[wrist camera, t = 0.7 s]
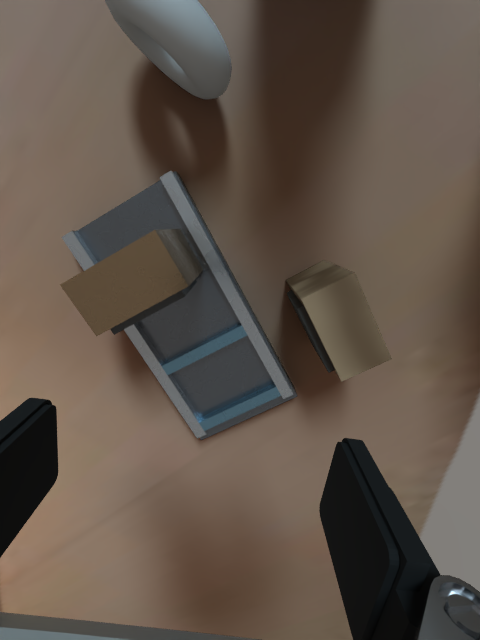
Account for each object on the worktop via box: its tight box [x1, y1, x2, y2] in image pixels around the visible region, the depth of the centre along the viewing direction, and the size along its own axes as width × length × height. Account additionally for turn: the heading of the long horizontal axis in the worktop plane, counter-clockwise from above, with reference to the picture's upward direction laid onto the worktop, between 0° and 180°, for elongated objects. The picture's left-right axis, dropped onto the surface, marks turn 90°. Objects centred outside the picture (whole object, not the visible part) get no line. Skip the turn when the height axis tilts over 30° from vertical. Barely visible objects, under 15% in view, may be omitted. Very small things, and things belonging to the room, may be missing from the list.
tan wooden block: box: [286, 260, 392, 381], centre depth 29 cm, size 5×8×9 cm, turn 28°
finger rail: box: [61, 171, 297, 440], centre depth 29 cm, size 12×26×11 cm, turn 28°
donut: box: [105, 0, 232, 99], centre depth 23 cm, size 10×3×10 cm, turn 54°
